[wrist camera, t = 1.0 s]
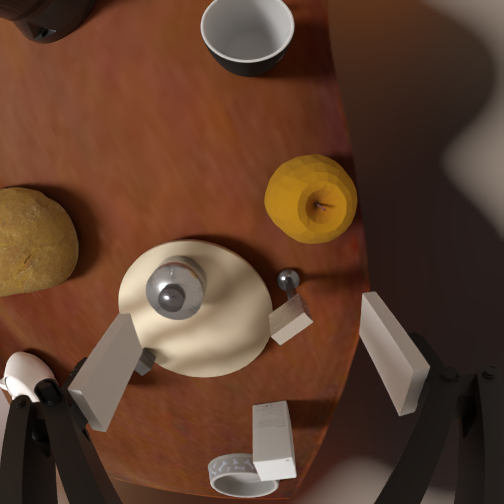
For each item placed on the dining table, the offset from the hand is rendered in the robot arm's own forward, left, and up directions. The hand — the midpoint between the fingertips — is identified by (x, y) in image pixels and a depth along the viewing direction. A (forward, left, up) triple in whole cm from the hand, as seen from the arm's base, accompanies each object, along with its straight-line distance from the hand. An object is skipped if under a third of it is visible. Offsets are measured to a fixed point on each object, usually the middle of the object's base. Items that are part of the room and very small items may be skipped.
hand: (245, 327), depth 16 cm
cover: (-1, -11, -21) cm, 24 cm away
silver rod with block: (+9, -1, -24) cm, 26 cm away
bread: (-26, -32, -25) cm, 49 cm away
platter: (+4, -15, -22) cm, 27 cm away
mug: (-18, +16, -24) cm, 34 cm away
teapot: (-7, -55, -24) cm, 61 cm away
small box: (+30, -21, -24) cm, 44 cm away
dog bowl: (+44, -41, -25) cm, 65 cm away
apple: (+1, +8, -24) cm, 26 cm away
